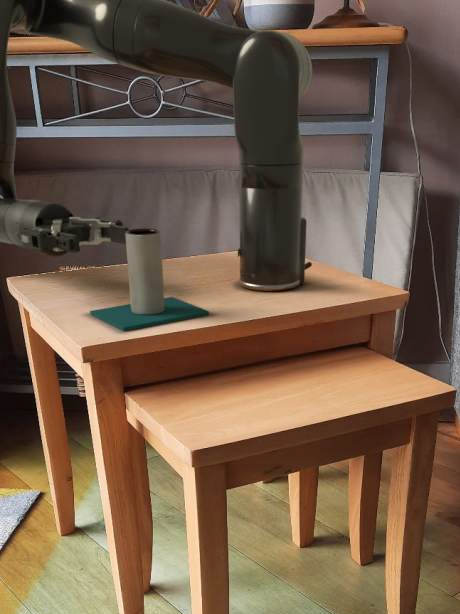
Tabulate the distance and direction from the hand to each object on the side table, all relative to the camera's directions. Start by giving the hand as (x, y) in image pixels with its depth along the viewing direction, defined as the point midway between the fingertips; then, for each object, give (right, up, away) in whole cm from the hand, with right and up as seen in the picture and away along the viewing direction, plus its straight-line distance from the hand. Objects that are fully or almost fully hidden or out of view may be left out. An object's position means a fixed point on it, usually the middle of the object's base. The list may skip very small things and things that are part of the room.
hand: (103, 240), depth 103 cm
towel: (+7, -11, -1) cm, 13 cm away
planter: (+6, -10, -2) cm, 12 cm away
